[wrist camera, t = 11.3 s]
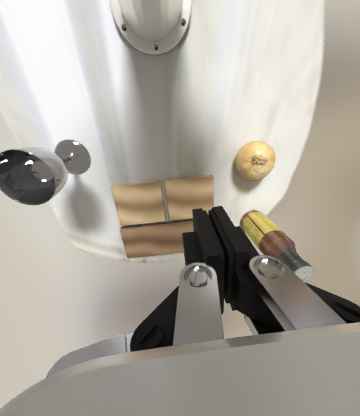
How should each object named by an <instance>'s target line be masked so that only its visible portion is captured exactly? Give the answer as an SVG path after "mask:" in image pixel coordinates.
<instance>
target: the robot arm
mask: <svg viewBox="0 0 360 416" xmlns="http://www.w3.org/2000/svg"><path fill="white" fill-rule="evenodd" d="M110 6H111V10H112V14H113V17H114V19H115V22H116V24H117V26H118V28H119V30H120V32H121V33H122V35H123V36H124V37H125V39H126V40H127V41H128V42H129V43H130V44H131V45H132V46H133V47H135V48H136V49H137V50H139V51H141V52H144V53H147V54H152V55H154V54H162V53H166V52H167V51H169V50H171V49H173V48H174V47H175V46H176V45H177V44H178V43H179V42H180V40H181V39H182V38H183V36H184V34H185V32H186V30H187V27H188V24H189V20H190V15H191V7H192V0H110ZM182 23H184V26H182ZM124 28H126V31H124ZM155 47H158V50H155ZM192 214H193V230H194V231H193V232H184V233H182V237H183V248H184V256H185V264H186V267H184V268H183V270H182V271H181V274H180V282H179V286H178V287H177V288H176V289H175V290H174V291H173V292H172V293H171V294H170V295H169V296H168V297H167V298H166V299H165V300H164V301H163V302H162V303H161V304H160V305H159V306H158V307H157V308H156V309H155V310H154V311H153V312H152V313H151V314H150V315H149V316H148V317H147V318H146V319H145V320H144V321H143V322H142V323H141V324H140V325H139V326H138V328H137V329H136V330H135V331H134V333H131V334H128V335H125V333H122V334H120V335H117V336H114V337H111V338H109V339H106V340H103V341H100V342H98V343H95V344H92V345H90V346H87V347H84V348H81V349H78V350H76V351H73V352H70V353H69V354H67V355H65V356H63V357H62V358H60V359H59V360H58V361H57V362H56V363H55V364H54V366H53V367H52V368H51V369H50V371H49V372H48V374H47V377H46V378H45V379H43V380H41V381H40V382H38V383H36V384H35V385H33V386H31V387H29V388H28V389H26V390H25V391H23V392H22V393H20V394H19V395H17V396H16V397H15V398H14V399H12V400H11V401H9V402H8V403H7V404H5V406H3V407H2V408H1V409H0V416H360V306H358V305H356V304H354V303H352V302H351V301H348V300H346V299H344V298H341V297H339V296H337V295H334V294H332V293H329V292H327V291H324V290H322V289H320V288H317V287H315V286H312V285H310V284H308V283H305V282H303V281H302V280H301V279H300V278H299V277H298V276H297V275H296V274H295V273H294V272H293V271H292V270H291V269H290V268H289V267H288V266H287V265H286V264H285V263H283V262H282V261H281V260H279V259H277V258H275V257H272V256H267V255H259V254H258V252H257V251H256V249H255V248H254V246H253V245H252V243H251V242H250V240H249V239H248V237H247V236H246V234H245V233H244V231H243V230H242V228H241V227H239V226H238V227H235V226H234V225H233V223H232V221H231V220H230V218H229V217H228V215H227V213H226V212H225V210H224V209H223V207H222V206H218V207H212V209H211V210H208V214H207V211H206V210H203V209H202V208H199V209H192ZM224 299H225V301H226V303H230V305H231V308H232V310H238V311H239V312H241V313H243V314H244V318H245V321H246V323H247V325H248V326H249V328H250V330H251V332H252V334H253V336H244V337H237V338H229V339H224V332H223V324H222V317H221V315H222V314H223V309H224Z"/></svg>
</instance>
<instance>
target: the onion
mask: <svg viewBox="0 0 360 416" xmlns="http://www.w3.org/2000/svg"><path fill="white" fill-rule="evenodd" d="M235 163H236V168H237V170H238V172H239V174H240V175H241V176H242V177H243V178H245V179H248V180H259V179H262V178H264V177H266V176H267V175H268V174H269V173H270V172H271V170H272V169H273V167H274V164H275V153H274V151H273V149H272V148H271V147H270V146H269V145H268V144H266V143H264V142H259V141H255V142H250V143H247V144H246V145H244V146H243V147H242V148H241V149H240V150H239V152H238V153H237V156H236V160H235Z"/></svg>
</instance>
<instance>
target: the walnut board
mask: <svg viewBox="0 0 360 416" xmlns="http://www.w3.org/2000/svg"><path fill="white" fill-rule="evenodd" d="M193 231H194V230H193V220H185V221H176V222H167V223H158V224H149V225H140V226H131V227H121V229H120V233H121V236H122V240H123V243H124V247H125V251H126V254H127V258H131V257H140V256H149V255H157V254H166V253H175V252H184V248H183V237H182V233H184V232H193Z"/></svg>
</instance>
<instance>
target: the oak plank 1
mask: <svg viewBox="0 0 360 416" xmlns="http://www.w3.org/2000/svg"><path fill="white" fill-rule="evenodd" d="M111 189H112V193H113V197H114V201H115V205H116V209H117V213H118V217H119V221H120V225H121V226H125V225H135V224H144V223H153V222H162V221H166V218H165V211H164V204H163V196H162V189H161V182H160V181H153V182H143V183H133V184H124V185H114V186H111Z"/></svg>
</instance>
